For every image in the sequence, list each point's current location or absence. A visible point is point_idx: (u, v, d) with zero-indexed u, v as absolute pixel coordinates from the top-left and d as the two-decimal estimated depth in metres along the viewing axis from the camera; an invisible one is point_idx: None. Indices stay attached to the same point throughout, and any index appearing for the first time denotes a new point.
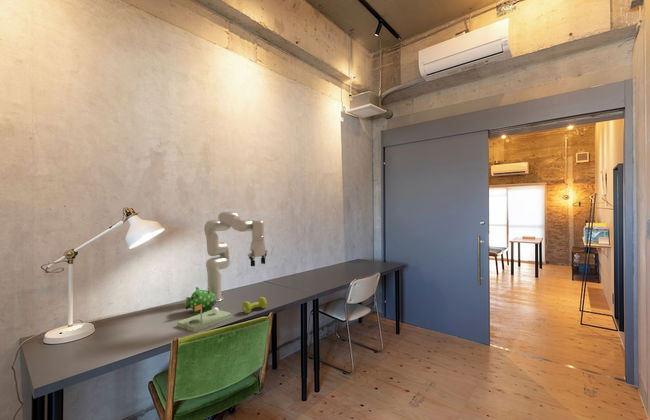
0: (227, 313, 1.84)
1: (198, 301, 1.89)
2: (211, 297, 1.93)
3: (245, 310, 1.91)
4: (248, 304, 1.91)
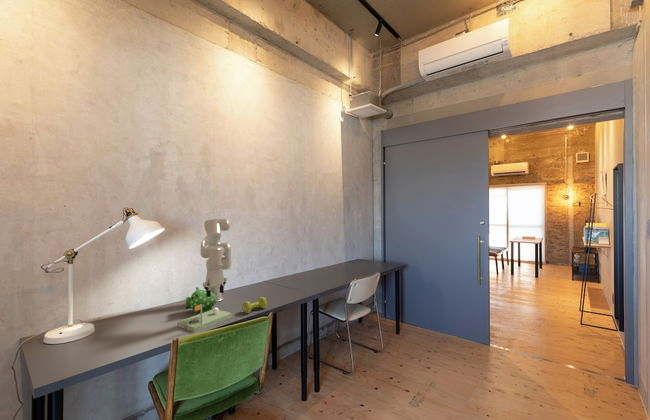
0: (227, 313, 1.84)
1: (198, 301, 1.89)
2: (211, 297, 1.93)
3: (245, 310, 1.91)
4: (248, 304, 1.91)
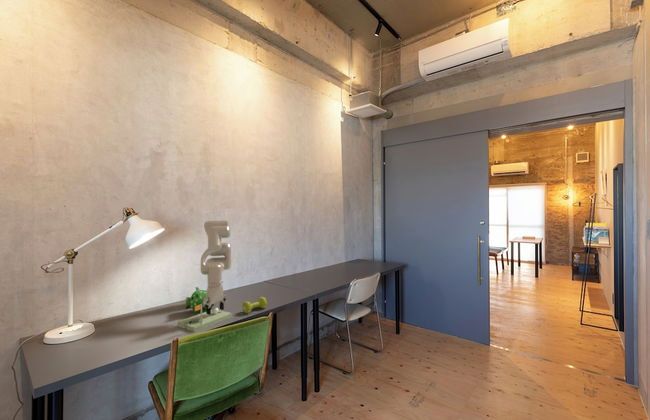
0: (227, 313, 1.84)
1: (198, 301, 1.89)
2: None
3: (245, 310, 1.91)
4: (248, 304, 1.91)
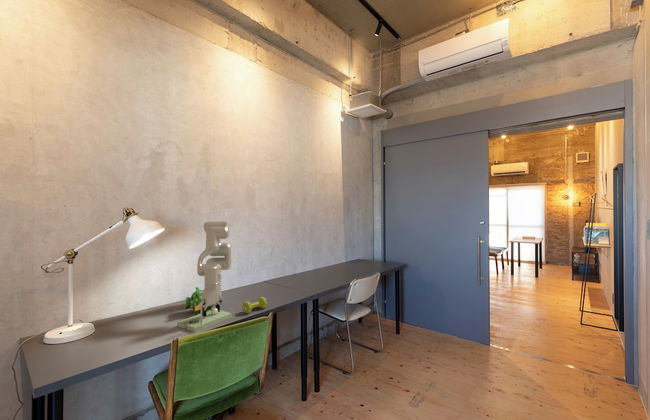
0: (227, 313, 1.84)
1: (198, 301, 1.89)
2: None
3: (245, 310, 1.91)
4: (248, 304, 1.91)
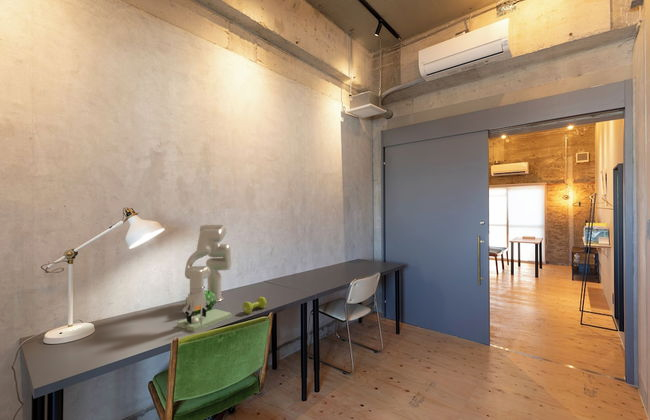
0: (227, 313, 1.84)
1: None
2: (211, 297, 1.93)
3: (246, 310, 1.90)
4: (249, 304, 1.91)
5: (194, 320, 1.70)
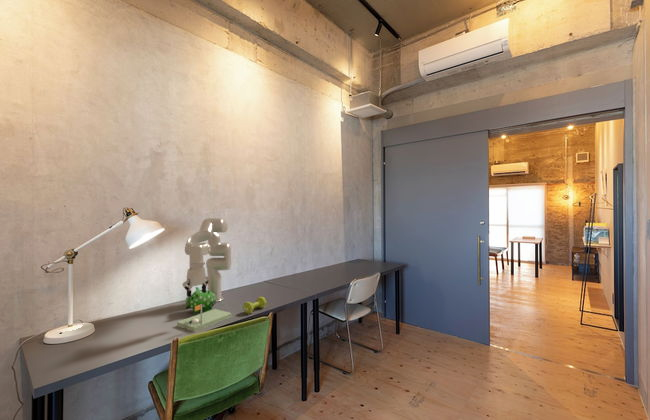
0: (227, 313, 1.84)
1: (198, 301, 1.89)
2: (211, 297, 1.93)
3: (247, 310, 1.90)
4: (250, 304, 1.91)
5: (194, 322, 1.70)
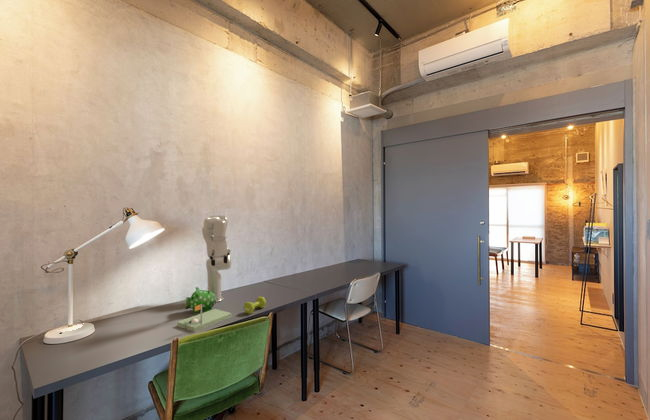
0: (227, 313, 1.84)
1: (198, 301, 1.89)
2: (211, 297, 1.93)
3: (248, 311, 1.90)
4: (251, 304, 1.91)
5: (194, 322, 1.70)
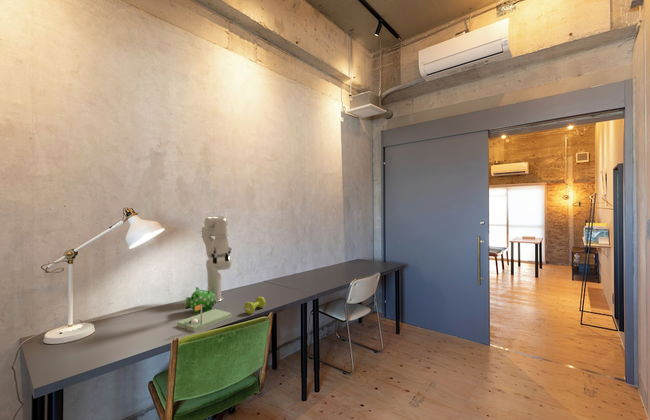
0: (227, 313, 1.84)
1: (198, 301, 1.89)
2: (211, 297, 1.93)
3: (249, 311, 1.90)
4: (252, 304, 1.90)
5: (193, 322, 1.69)
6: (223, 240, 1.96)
